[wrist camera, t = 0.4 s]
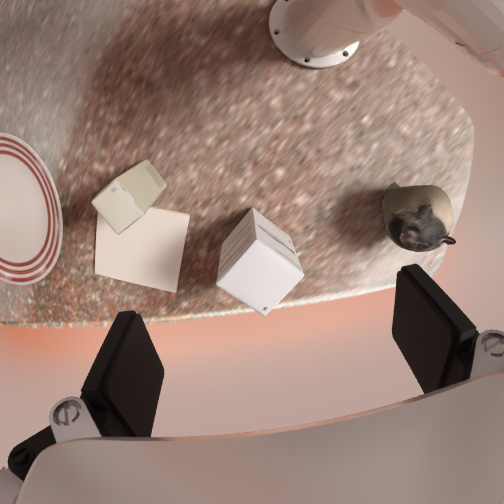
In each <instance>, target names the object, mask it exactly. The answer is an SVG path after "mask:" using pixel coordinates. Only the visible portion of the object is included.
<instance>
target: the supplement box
mask: <svg viewBox="0 0 504 504" xmlns="http://www.w3.org/2000/svg"><path fill="white" fill-rule="evenodd" d="M303 277H304V273H303V270H302V268H301V265H300V262H299V260H298V257H297V254H296V251H295V249H294V246H293V243H292V241H291V238H290V236H289V235H288V234H286V233H285V232H283V231H282V230H281V229H279V228H278V227H277V226H275V225H274V224H273V223H271V222H270V221H269V220H268V219H266V218H265V217H264V216H263V215H261V214H260V213H259V212H258V211H257V210H255V209H254V208H253V207H252V208H251V209H250V210H249V212H248V213H247V214H246V215H245V216H244V218H243V219H242V220H241V221H240V222H239V224H238V225H237V226H236V227H235V229H234V230H233V231H232V232H231V233H230V235H229V236H228V237H227V238H226V239H225V241H224V242H223V243H222V248H221V255H220V261H219V269H218V276H217V281H216V285H217V286H218V287H220V288H221V289H223V290H224V291H226V292H228V293H229V294H231V295H232V296H234V297H235V298H237V299H238V300H240V301H241V302H242V303H244V304H246V305H247V306H249V307H251V308H252V309H254V310H255V311H257V312H258V313H260V314H261V315H263V316H266V315H267V314H268V313H269V312H270V311H271V310H272V309H273V308H274V307H275V306H276V305H277V304H278V303H279V302H280V301H281V300H282V299H283V298H284V297H285V295H286V294H287V293H288V292H289V291H290V290H291V289H292V288H293V287H294V286H295V285H296V284H297V283H298V282H299V281H300V280H301V279H302V278H303Z"/></svg>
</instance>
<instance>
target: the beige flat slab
mask: <svg viewBox="0 0 504 504" xmlns="http://www.w3.org/2000/svg"><path fill="white" fill-rule="evenodd" d="M189 218H190V214H185V213H181V212H176V211H171V210H167V209H162V208H157V207H152V206H151V207H150V208H149V209H148V210H147V212H146V213H145V215H144V216H143V217H141V218H140V219H139V220H138V221H137V222H135V223H134V224H133V225H132V226H130V227H129V228H128V229H126V230H125V231H124V232H122V233H121V234H120V235H117V234H116V233H115V232H114V231H113V230H112V228H111V227H110V226H109V225H108V224H107V222H106V221H105V220H104V219H103V217H102V216H101V215H100V214H99V212H98V217H97V232H96V252H95V274H99V275H103V276H107V277H110V278H114V279H118V280H123V281H127V282H131V283H135V284H139V285H143V286H148V287H152V288H156V289H160V290H165V291H169V292H174V293H176V291H177V285H178V279H179V273H180V267H181V261H182V256H183V250H184V245H185V239H186V234H187V229H188V223H189Z"/></svg>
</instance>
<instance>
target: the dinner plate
mask: <svg viewBox="0 0 504 504" xmlns="http://www.w3.org/2000/svg"><path fill="white" fill-rule="evenodd" d="M62 236H63V219H62V211H61V205H60V201H59V196H58V193H57V190H56V187H55V184H54V181H53V179H52V177H51V174H50V172H49V170H48V169H47V167H46V165H45V164H44V162H43V161H42V159H41V158H40V156H39V155H38V154H37V153H36V152H35V150H34V149H33V148H32V147H31V146H29V145H28V144H27V143H26V142H24V141H23V140H21V139H20V138H18V137H16V136H14V135H11V134H7V133H0V280H2V281H4V282H7V283H10V284H14V285H29V284H33V283H35V282H38V281H40V280H41V279H43V278H44V277H45V276H46V275H47V274H48V273H49V272H50V271H51V270H52V268H53V267H54V265H55V263H56V261H57V259H58V256H59V253H60V249H61V244H62Z"/></svg>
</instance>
